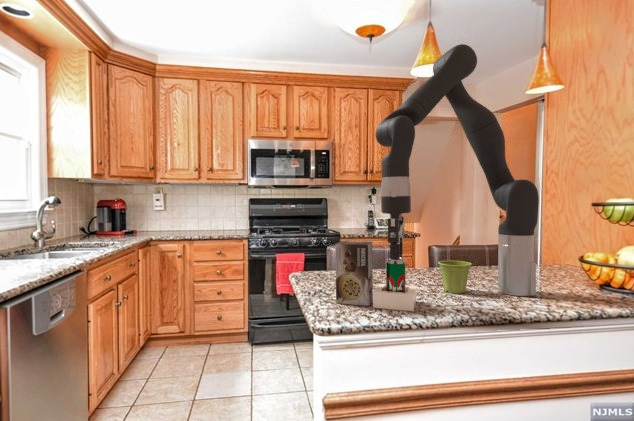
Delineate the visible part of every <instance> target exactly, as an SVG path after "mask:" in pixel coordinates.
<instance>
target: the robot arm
mask: <svg viewBox="0 0 634 421" xmlns="http://www.w3.org/2000/svg"><path fill="white" fill-rule="evenodd" d="M477 64H478V57H477V54H476V52H475V50H474V49H473V48H472V47H471V46H470V45H468V44H463V43H461V44H456V45H455V46H453V47H452V48H450V49H449V50H447V51H446V52H445V53H444V54H442V55H441V56H440V57H439V58H437V59H436V60H435V62H434V63H433V65H432V73H433V74H432V75H431V77H430V78H428V79H427V80H426V81H425V82H424V83H422V84H421V85H420V86H419V87H417V89H415V90H414V92H412V93H411V94H410V95H409V97H407V98H406V100H405V101H404V102H403V103H402V104H401V105H400V106H399V107H398V108H397V109H395V110H394V111H392V112H391V113H389V114H388V115H387V116H385V118H384V119H382V120H381V122H379V124H378V125H377V127H376V130H375V138H376V142H377V143H378V144H379V145H380V146H381V147H384V148H390V150H389V152H388V154H386V155H385V156H383V157H382V159H381V185H380V199H381V200H380V201H381V202H380V203H381V205H380V206H381V209H380V211H381V213H382V214H387V215H388V214H389V215H390V216H389V217H390V218H387V220H386V221H387V243H388V244H389V258H390V259H391V260H398V259H399V258H400V256H402V255H403V253H404V246H403V242H404V239H405V238H404V237H405V217H404V216H403V215H402V214H409V213H411V211H412V206H411V205H412V202H411V201H412V200H411V199H412V198H411V190H412V189H411V180H410V159H411V155H412V152H413V147H414V142H415V138H416V126H418V125H419V124H420V123H422V122H423V121H424V120H425V119H426V118H427V117H428V116H429V114H430V113H431V112H432V111H433V109H435V107H436V106H437V105H438V104H439V103H440V102H441V101H442V99H444V97H446V99H447V101H448V102H449V104H450V106H451V108H452V109H453V112H454V114H455V115H456V117H457V119H458V121H459V124H460V125H461V127H462V130H463V132H464V134H465V136H466V138H467V140H468V143H469V144H470V147H471V149H472V150H473V153H474V155H475V157H476V159H477V161H478V163H479V165H480V167H481V169H482V171H483V173H484V176H485V178H486V181H487V184H488V187H489V190H490V193H491V196H492V199H493V201H494V203H495V205H496V206H497V207H498V208H500V209H501V210H503V211H506V212H505V213H506V215H505V218H504V221H503V222H501V223H500V224H499V225H498V228H497V229H498V236H497V238H498V240H497V241H498V242H497V244H498V248H497V249H498V252H497V253H498V256H497V258H498V259H497V260H498V262H497V290H498V292H499V293H502V294H504V295H509V296H517V297H518V296H519V297H529V296H532V297H535V296H537V295H536V286H537V284H536V282H537V279H536V277H537V276H536V275H537V274H536V273H537V272H536V271H537V267H536V266H537V263H536V262H535V253H534V252H535V251H534V250H535V247H534V246H535V229H536V227H537V224H538V218H539V204H540V202H539V201H540V200H539V198H540V197H539V192H538V191H539V190H538V189H537V187H536V185H535V184H534V183H533V182H532V181H531V180H528V179H515V178H514V176H513V174H512V172H511V171H510V168H509V166H508V163H507V160H506V140H505V134H504V132H503V128H502V127H501V125H500V122H499V120H498V119H497V117H496V115H495V114H494V112H493V111H491V110H490V109H488V107H486V106H484V105H483V104H481V103H480V102H478V101H477V100H475V98H473V97H472V96H471V95H470V94H469V93H468V91H467V89H466V87H465V86H464V84H463V82H462V80H465V79H466V78H468V77H469V76H470V75H471V74H472V73H473V72H474V71H475V69H476V67H477Z"/></svg>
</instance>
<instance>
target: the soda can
mask: <svg viewBox="0 0 634 421" xmlns="http://www.w3.org/2000/svg"><path fill="white" fill-rule="evenodd" d="M406 265H407V264H406V262H405V259H404V258H402V257H399V259H398V260H391V259H390V257H388V258H386V262H385V284H386V291H389V292H402V293H406V286H407V284H406V275H407V274H406V268H407V267H406Z"/></svg>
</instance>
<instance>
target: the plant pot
mask: <svg viewBox="0 0 634 421" xmlns="http://www.w3.org/2000/svg"><path fill="white" fill-rule="evenodd" d="M437 264H438V265H439V269H440V272H441V278H442V285H443V286H442V287H443V291H444V292H449V293H450V294H456V295H457V294H461V293H463V294H464V293H466V291H467V284H468V277H469V276H468V275H469V271H470V269H471V266H472V263H471V262H470V261H469V262H468V261H463V260H462V261H461V260H440V261H438V262H437Z"/></svg>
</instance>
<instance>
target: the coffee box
mask: <svg viewBox="0 0 634 421" xmlns="http://www.w3.org/2000/svg"><path fill="white" fill-rule="evenodd" d="M334 245H335V246H334V249H335V304H341V305H351V306H352V305H353V306H354V305H355V306H365V307H366V306H367V307H368V306H370V305H371V304H372V303H373V291H374V288H373V287H374V285H373V284H374V280H373V279H374V278H373V277H374V276H373V274H374V273H373V271H374V270H373V241H356V240H355V241H352V240H350V241H345V240H342V241H339V242H337V243H335V244H334Z"/></svg>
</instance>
